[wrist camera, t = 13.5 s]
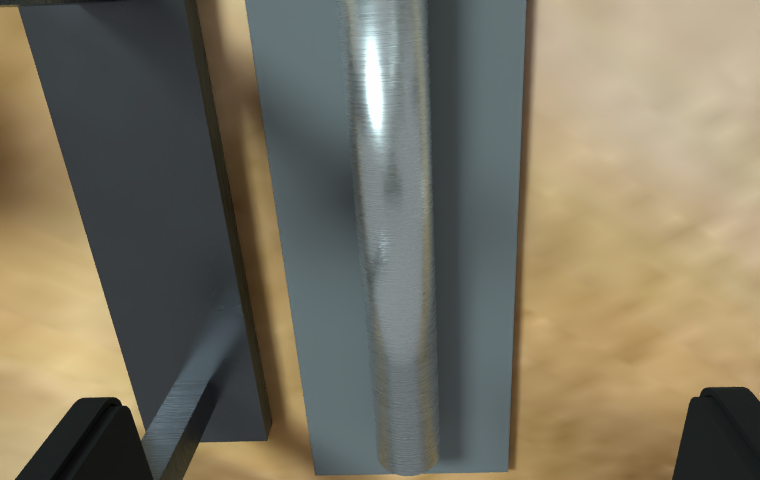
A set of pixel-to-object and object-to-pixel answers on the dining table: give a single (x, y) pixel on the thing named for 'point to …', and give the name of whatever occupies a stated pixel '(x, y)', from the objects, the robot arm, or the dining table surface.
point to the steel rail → (394, 220)
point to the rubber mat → (451, 222)
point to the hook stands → (155, 213)
